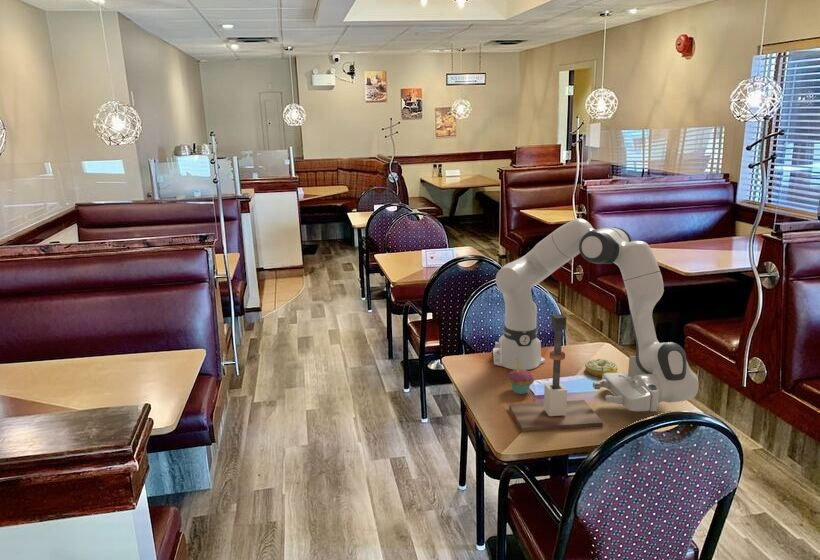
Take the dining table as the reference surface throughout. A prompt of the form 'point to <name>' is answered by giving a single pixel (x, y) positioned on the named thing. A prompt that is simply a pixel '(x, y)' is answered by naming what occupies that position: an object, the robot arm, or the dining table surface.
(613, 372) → the lemon
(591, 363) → the decorated donut
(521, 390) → the cupcake
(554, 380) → the post stand
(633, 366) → the grey rectangular block
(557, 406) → the sleeve
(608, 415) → the dining table surface
